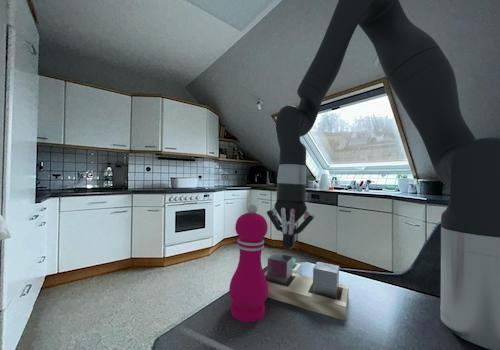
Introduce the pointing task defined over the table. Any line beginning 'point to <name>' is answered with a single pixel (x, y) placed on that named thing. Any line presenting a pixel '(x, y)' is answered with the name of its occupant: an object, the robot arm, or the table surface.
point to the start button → (294, 263)
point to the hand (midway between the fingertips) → (288, 248)
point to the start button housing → (297, 269)
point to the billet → (326, 280)
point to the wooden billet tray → (310, 296)
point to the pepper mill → (249, 269)
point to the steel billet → (280, 269)
